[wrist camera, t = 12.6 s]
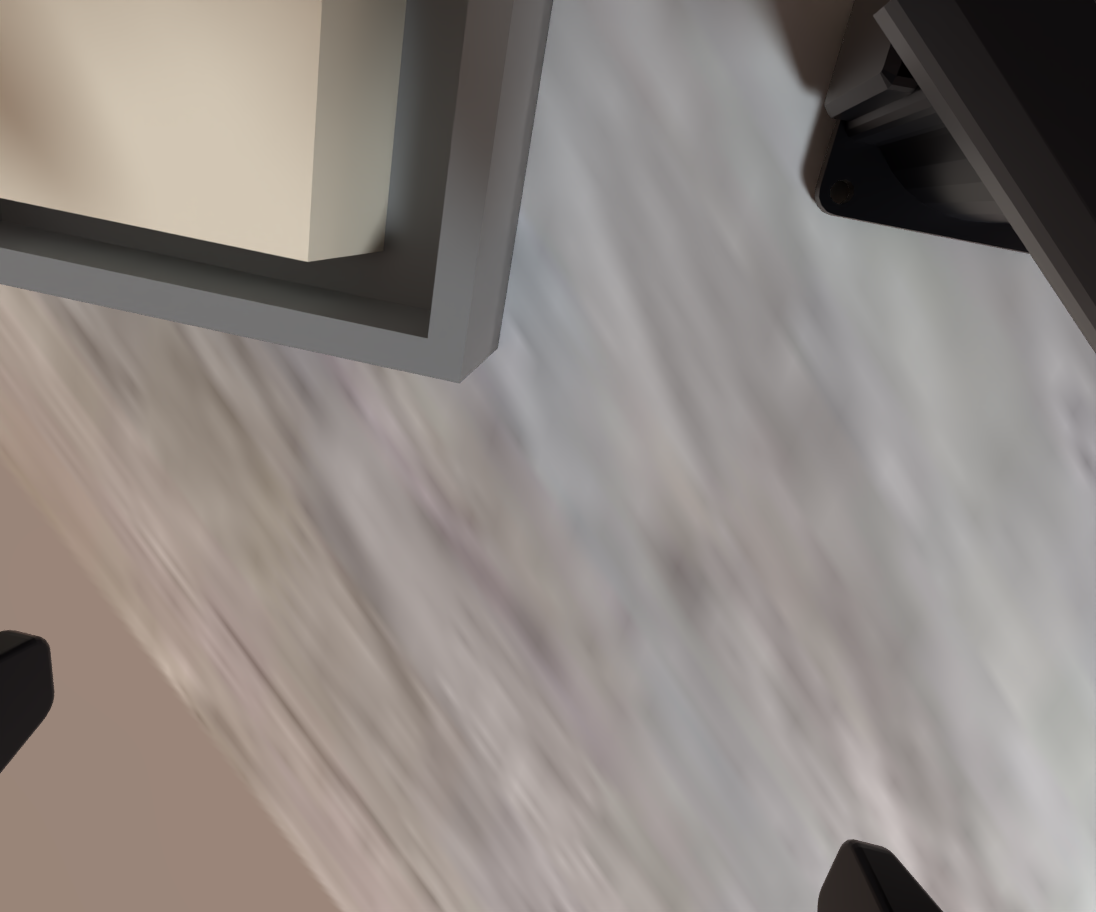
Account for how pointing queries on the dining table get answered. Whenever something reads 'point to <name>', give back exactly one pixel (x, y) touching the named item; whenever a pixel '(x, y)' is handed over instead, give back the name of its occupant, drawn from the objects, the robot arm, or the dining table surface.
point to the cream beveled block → (206, 117)
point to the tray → (359, 280)
